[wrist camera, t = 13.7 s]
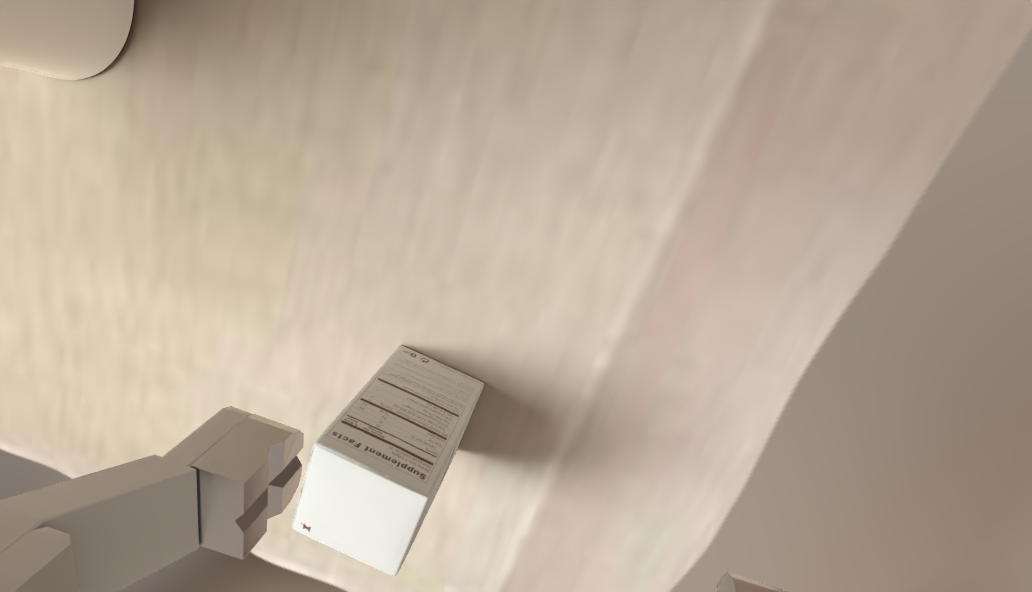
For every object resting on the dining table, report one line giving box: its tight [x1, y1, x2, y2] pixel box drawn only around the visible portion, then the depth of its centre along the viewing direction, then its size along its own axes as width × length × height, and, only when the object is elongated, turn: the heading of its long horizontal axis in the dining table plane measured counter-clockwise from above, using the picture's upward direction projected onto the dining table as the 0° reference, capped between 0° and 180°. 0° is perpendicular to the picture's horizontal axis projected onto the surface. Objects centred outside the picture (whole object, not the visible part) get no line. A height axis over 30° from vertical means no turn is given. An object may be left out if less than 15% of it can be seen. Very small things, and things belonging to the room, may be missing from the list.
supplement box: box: [291, 345, 484, 576], centre depth 38 cm, size 7×7×13 cm
